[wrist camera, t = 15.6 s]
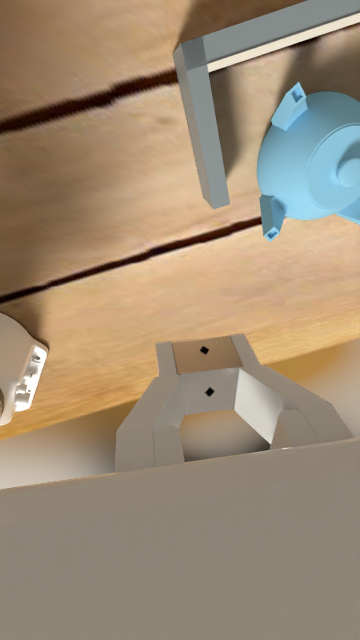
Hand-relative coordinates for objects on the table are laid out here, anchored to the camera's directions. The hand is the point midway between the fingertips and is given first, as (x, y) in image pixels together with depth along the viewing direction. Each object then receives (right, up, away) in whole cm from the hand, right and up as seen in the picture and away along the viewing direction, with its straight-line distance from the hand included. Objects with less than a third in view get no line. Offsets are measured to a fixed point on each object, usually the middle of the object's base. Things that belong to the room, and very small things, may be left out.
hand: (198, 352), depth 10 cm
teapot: (+15, +22, +30) cm, 40 cm away
